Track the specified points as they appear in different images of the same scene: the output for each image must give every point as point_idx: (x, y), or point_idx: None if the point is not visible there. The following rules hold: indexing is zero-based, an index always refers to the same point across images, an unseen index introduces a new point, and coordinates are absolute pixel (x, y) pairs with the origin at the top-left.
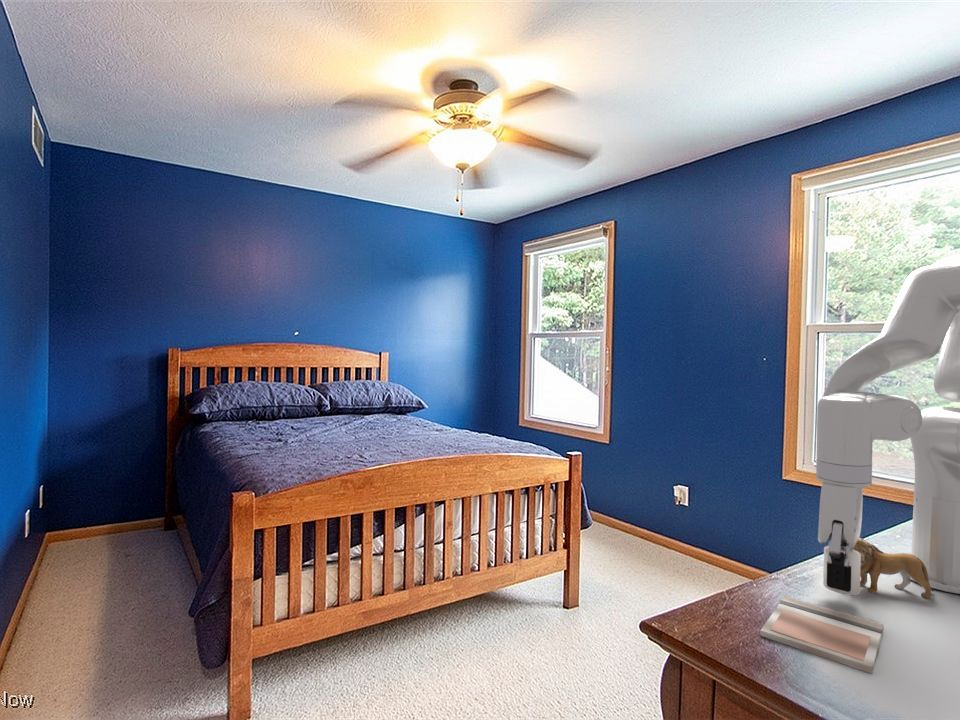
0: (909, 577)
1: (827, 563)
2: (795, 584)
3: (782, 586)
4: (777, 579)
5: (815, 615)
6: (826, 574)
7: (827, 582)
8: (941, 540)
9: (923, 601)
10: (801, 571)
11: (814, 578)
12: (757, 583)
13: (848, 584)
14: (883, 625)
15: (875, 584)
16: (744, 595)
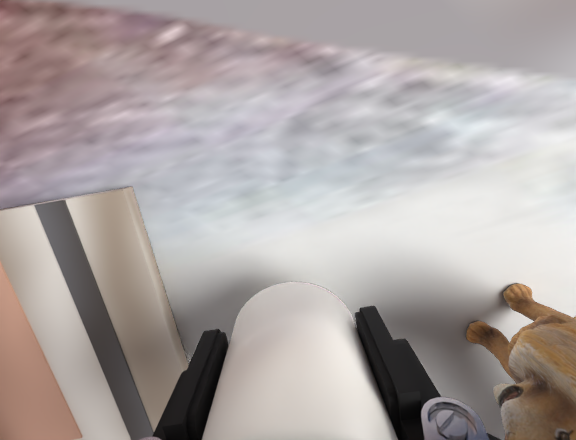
0: None
1: (164, 421)
2: (329, 149)
3: (262, 123)
4: (321, 76)
5: (67, 313)
6: (235, 340)
7: (201, 341)
8: None
9: (502, 424)
10: (500, 108)
11: (456, 172)
12: (198, 36)
13: None
14: None
15: (495, 355)
16: (22, 58)
